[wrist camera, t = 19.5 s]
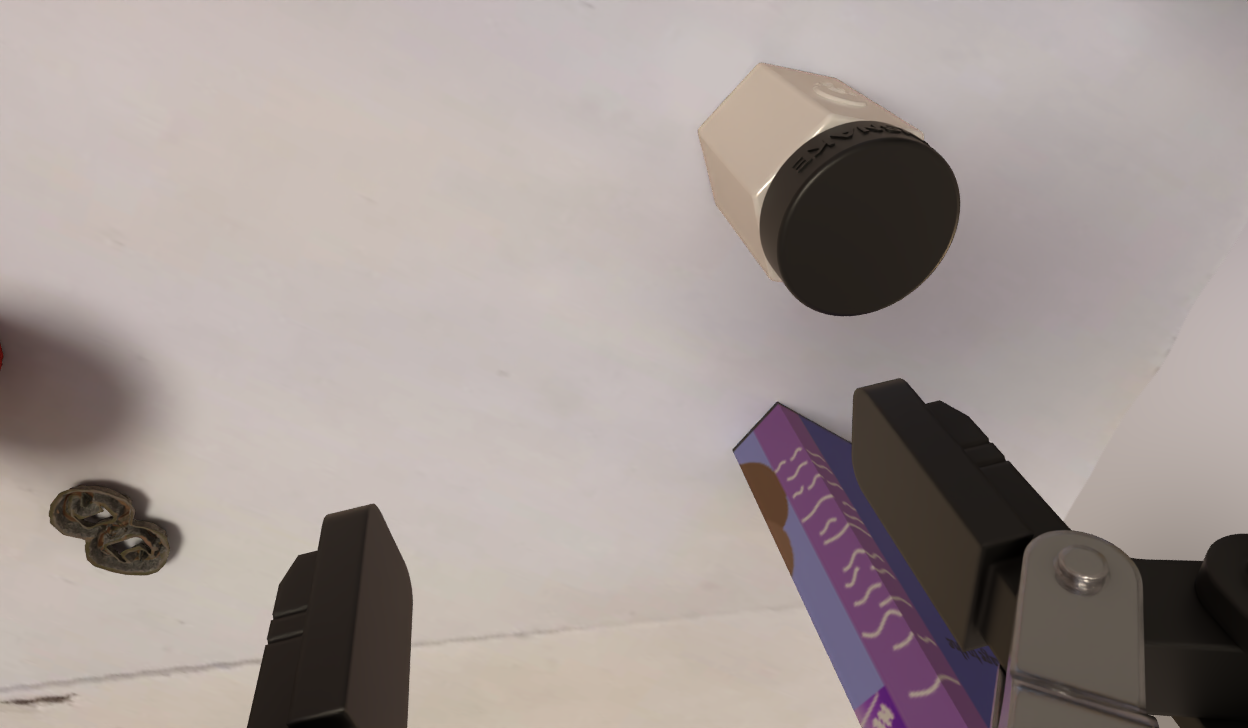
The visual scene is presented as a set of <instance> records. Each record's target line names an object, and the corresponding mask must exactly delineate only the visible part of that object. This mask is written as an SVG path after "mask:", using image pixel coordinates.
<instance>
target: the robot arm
mask: <svg viewBox="0 0 1248 728" xmlns="http://www.w3.org/2000/svg"><path fill="white" fill-rule="evenodd" d="M851 456H852V465H853V470H854V473H855V477H856V480H857V482H858V485H859V487H860V489H861V491H862V492H863V494H864V496H865V497H866V499H867V501H868V502H869V504H870V505H871V507H872V508H873V510H874V512H875V513H876V515H877V516H878V518H879V519H880V521H881V523H882V524H883V526H884V527H885V529H886V531H887V532H888V534H889V535H890V537H891V538H892V540H893V542H894V543H895V545H896V546H897V548H898V550H899V551H900V553H901V554H902V556H903V557H904V559H905V561H906V562H907V564H908V565H909V567H910V569H911V570H912V572H913V573H914V575H915V576H916V578H917V580H918V581H919V583H920V584H921V586H922V588H923V589H924V591H925V592H926V594H927V595H928V597H929V599H930V600H931V602H932V603H933V605H934V607H935V608H936V610H937V611H938V613H939V614H940V616H941V618H942V619H943V621H944V622H945V624H946V626H947V627H948V629H949V630H950V632H951V633H952V635H953V637H954V638H955V640H956V641H957V643H958V645H959V646H960V648H961V649H962V651H963V652H966V651H970V650H974V649H977V648H981V647H985V646H989V648H990V649H991V651H992V652H993V654H994V655H995V657H996V658H997V660H998V661H999V665H998V669H997V675H996V682H995V690H994V698H993V705H992V713H991V721H990V728H1159V725H1158V722H1157V719H1156V718H1155V717H1154V716H1151V715H1163V716H1172V718H1173V719H1174V720H1175V722H1176V723H1177V724H1178V726H1179V727H1180V728H1248V534H1235V535H1229V536H1226V537H1223V538H1221V539H1219V540H1217V541H1216V542H1214V543H1213V544H1212V545H1211V546H1210V548H1209V550H1208V551H1207V554H1206V556H1205V558H1204V561H1182V560H1180V561H1179V560H1178V561H1177V560H1145V559H1134V558H1130V557H1129V556H1128V555H1127V554H1125V553H1124V552H1123V551H1122V550H1121V549H1119V548H1118V547H1116V546H1115V545H1114V544H1112V543H1110V542H1108V541H1106V540H1104V539H1102V538H1099V537H1097V536H1094V535H1092V534H1087V533H1084V532H1079V531H1072V530H1071V529H1070V528H1068V526H1067V525H1066V524H1065V523H1064V522H1063V521H1062V520H1061V519H1060V517H1059V516H1058V515H1057V514H1056V513H1055V512H1054V511H1053V510H1052V509H1051V507H1050V506H1049V505H1048V504H1047V503H1046V502H1045V501H1044V500H1043V499H1042V497H1041V496H1040V495H1039V494H1038V493H1037V492H1036V491H1035V490H1034V488H1033V487H1032V486H1031V485H1030V484H1029V483H1028V482H1027V481H1026V480H1025V478H1024V477H1023V476H1022V475H1021V474H1020V473H1019V472H1018V471H1017V470H1016V468H1015V467H1014V466H1013V465H1012V464H1011V463H1010V462H1009V461H1006V460H1005V457H1004V455H1003V454H1002V453H1001V452H1000V451H999V449H998V448H997V447H996V446H995V445H994V444H993V443H990V442H989V438H988V437H987V436H986V435H985V434H984V433H983V432H982V431H981V429H980V428H979V427H978V426H977V425H976V424H975V423H974V422H973V421H972V419H971V418H970V417H969V416H967V415H965V414H963V413H962V412H960V411H958V410H956V409H955V408H953V407H951V406H949V405H947V404H946V403H944V402H942V401H940V400H939V401H935V402H931V403H927V404H925V403H924V402H923V401H922V399H921V398H920V397H919V396H918V395H917V393H916V392H915V391H914V390H913V389H912V388H911V386H910V385H909V384H908V383H907V382H906V381H905V380H903V379H901V378H898V379H894V380H890V381H886V382H881V383H877V384H873V385H869V386H865V387H861V388H857V389H856V390H855V392H854V395H853V418H852V452H851ZM412 609H413V595H412V587H411V581H410V577H409V573H408V570H407V567H406V564H405V562H404V560H403V558H402V556H401V554H400V551H399V549H398V547H397V545H396V543H395V541H394V539H393V537H392V535H391V533H390V531H389V528H388V526H387V524H386V522H385V520H384V518H383V516H382V514H381V512H380V510H379V508H378V507H377V506H376V505H375V504H369V505H365V506H361V507H357V508H353V509H349V510H345V511H340V512H336V513H332V514H328V515H326V516H325V518H324V520H323V524H322V529H321V535H320V540H319V546H318V551H314V552H310V553H306V554H302V555H298V557H297V558H296V560H295V561H294V563H293V564H292V566H291V567H290V569H289V570H288V572H287V573H286V575H285V576H284V578H283V580H282V581H281V583H280V584H279V588H278V592H277V596H276V601H275V605H274V610H273V614H272V615H273V620H271V623H270V628H269V632H268V637H267V640H268V645H265V650H264V654H263V659H262V663H261V668H260V672H259V677H258V681H257V685H256V690H255V694H254V699H253V703H252V708H251V712H250V717H249V721H248V725H247V728H407V719H408V697H409V675H410V653H411V631H412Z"/></svg>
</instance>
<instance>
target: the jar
mask: <svg viewBox="0 0 1248 728" xmlns="http://www.w3.org/2000/svg"><path fill="white" fill-rule="evenodd" d="M698 136H699V139H700V143H701V147H702V151H703V155H704V159H705V163H706V167H707V172H708V176H709V180H710V184H711V188H712V192H713V196H714V200H715V204H716V206H717V207H718V208H719V210H720V211H721V212H722V214H723V215H724V217H725V218H726V219H727V221H728V222H729V223H730V225H731V226H732V228H733V229H734V230H735V232H736V233H737V234H738V236H739V237H740V239H741V240H742V241H743V243H744V244H745V245H746V247H747V248H748V250H749V251H750V252H751V254H752V255H753V256H754V258H755V259H756V261H757V262H758V263H759V265H760V266H761V267H762V269H763V270H764V272H765V273H766V274H767V276H768V277H769V278H770V279H771V280H772V281H777V282H783V283H784V284H785V286H786V287H787V288H788V290H789V291H790V292H791V293H792V295H793V296H794V297H795V298H796V299H798V300H799V301H800V302H801V303H803V304H804V305H806V306H807V307H809V308H811V309H813V310H815V311H818V312H820V313H824V314H828V315H834V316H856V315H862V314H867V313H871V312H875V311H878V310H880V309H883V308H885V307H888V306H890V305H892V304H894V303H896V302H897V301H899V300H901V299H903V298H904V297H906V296H907V295H909V294H910V293H911V292H913V291H914V290H915V289H916V288H918V287H919V286H920V285H921V284H922V283H923V282H924V281H925V280H926V279H927V278H928V277H929V276H930V275H931V274H932V273H933V271H934V270H935V269H936V268H937V266H938V265H939V264H940V262H941V261H942V259H943V258H944V256H945V254H946V253H947V251H948V249H949V247H950V245H951V243H952V240H953V238H954V235H955V232H956V229H957V225H958V220H959V214H960V194H959V188H958V184H957V181H956V178H955V175H954V173H953V171H952V169H951V168H950V166H949V165H948V163H947V162H946V161H945V159H944V158H943V157H942V156H941V155H940V154H939V153H937V152H936V151H935V150H934V149H933V148H931V147H930V146H929V145H928V143H927V142H925V141H924V135H923V133H922V132H921V131H920V130H918V129H917V128H915V127H914V126H912V125H910V124H909V123H907V122H905V121H904V120H902V119H901V118H899V117H897V116H896V115H894V114H893V113H891V112H889V111H888V110H886V109H885V108H883V107H881V106H880V105H878V104H877V103H875V102H873V101H872V100H870V99H868V98H867V97H865V96H864V95H862V94H860V93H859V92H857V91H856V90H854V89H852V88H851V87H849V86H848V85H846V84H844V83H843V82H841V81H840V80H838V79H836V78H832V77H827V76H822V75H818V74H813V73H808V72H804V71H799V70H794V69H789V68H785V67H780V66H775V65H771V64H766V63H759V64H757V65H756V66H755V67H754V68H753V70H752V71H751V72H750V73H749V74H748V75H747V76H746V77H745V78H744V79H743V81H742V82H741V83H740V84H739V85H738V86H737V87H736V88H735V89H734V90H733V91H732V93H731V94H730V95H729V96H728V97H727V98H726V99H725V100H724V101H723V102H722V104H721V105H720V106H719V107H718V108H717V109H716V110H715V111H714V112H713V113H712V115H711V116H710V117H709V118H708V119H707V120H706V121H705V122H704V123H703V124H702V126H701V127H700V128H699V129H698Z"/></svg>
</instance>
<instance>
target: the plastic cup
mask: <svg viewBox="0 0 1248 728" xmlns="http://www.w3.org/2000/svg"><path fill="white" fill-rule="evenodd" d="M2 359H3V352H2V348H1V344H0V370H1V367H2Z"/></svg>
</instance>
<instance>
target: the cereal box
mask: <svg viewBox="0 0 1248 728" xmlns="http://www.w3.org/2000/svg"><path fill="white" fill-rule="evenodd" d="M733 452H734V454H735V457H736V459H737V461H738V463H739V465H740V467H741V469H742V472H743V474H744V476H745V478H746V480H747V482H748V484H749V487H750V489H751V491H752V493H753V495H754V497H755V499H756V502H757V504H758V506H759V508H760V510H761V512H762V514H763V517H764V519H765V521H766V523H767V525H768V527H769V529H770V532H771V534H772V536H773V538H774V540H775V542H776V544H777V547H778V549H779V551H780V553H781V555H782V557H783V560H784V562H785V564H786V566H787V568H788V570H789V572H790V575H791V577H792V579H793V581H794V583H795V585H796V587H797V590H798V592H799V594H800V596H801V598H802V600H803V602H804V605H805V607H806V609H807V611H808V613H809V615H810V617H811V620H812V622H813V624H814V626H815V628H816V630H817V632H818V635H819V637H820V639H821V641H822V643H823V645H824V647H825V650H826V652H827V654H828V656H829V658H830V660H831V663H832V665H833V667H834V669H835V671H836V673H837V675H838V678H839V680H840V682H841V684H842V686H843V688H844V690H845V693H846V695H847V697H848V699H849V701H850V703H851V705H852V708H853V710H854V712H855V714H856V716H857V718H858V720H859V723H860V725H861V727H862V728H990V721H991V713H992V705H993V698H994V690H995V682H996V675H997V669H998V665H999V661H998V660H997V658H996V657H995V655H994V654H993V652H992V651H991V649H990V648H989V646H985V647H981V648H977V649H974V650H970V651H966V652H963V651H962V649H961V648H960V646H959V645H958V643H957V641H956V640H955V638H954V637H953V635H952V633H951V632H950V630H949V629H948V627H947V626H946V624H945V622H944V621H943V619H942V618H941V616H940V614H939V613H938V611H937V610H936V608H935V607H934V605H933V603H932V602H931V600H930V599H929V597H928V595H927V594H926V592H925V591H924V589H923V588H922V586H921V584H920V583H919V581H918V580H917V578H916V576H915V575H914V573H913V572H912V570H911V569H910V567H909V565H908V564H907V562H906V561H905V559H904V557H903V556H902V554H901V553H900V551H899V550H898V548H897V546H896V545H895V543H894V542H893V540H892V538H891V537H890V535H889V534H888V532H887V531H886V529H885V527H884V526H883V524H882V523H881V521H880V519H879V518H878V516H877V515H876V513H875V512H874V510H873V508H872V507H871V505H870V504H869V502H868V501H867V499H866V497H865V496H864V494H863V492H862V491H861V489H860V487H859V485H858V482H857V480H856V477H855V473H854V470H853V465H852V456H851V452H852V443H850V442H848V441H847V440H845V439H843V438H841V437H839V436H838V435H836V434H834V433H832V432H831V431H829V430H827V429H825V428H823V427H822V426H820V425H818V424H816V423H814V422H813V421H811V420H809V419H807V418H805V417H804V416H802V415H800V414H798V413H796V412H795V411H793V410H791V409H789V408H787V407H786V406H784V405H782V404H780V403H778V402H777V403H776V404H775V405H774V406H773V407H772V408H771V409H770V410H769V411H768V412H767V413H766V414H765V415H764V417H763V418H762V419H761V420H760V421H759V422H758V423H757V424H756V425H755V426H754V427H753V428H752V429H751V431H750V432H749V433H748V434H747V435H746V436H745V437H744V438H743V439H742V440H741V441H740V442H739V443H738V445H737V446H736V447H735V448H734V449H733Z"/></svg>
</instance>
